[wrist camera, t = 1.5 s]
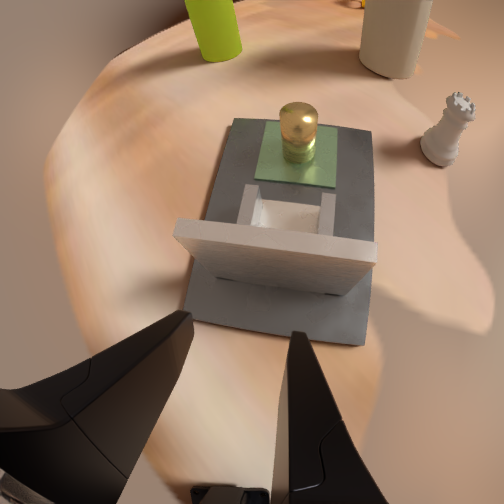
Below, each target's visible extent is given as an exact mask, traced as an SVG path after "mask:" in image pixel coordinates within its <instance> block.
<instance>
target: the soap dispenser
mask: <svg viewBox="0 0 504 504" xmlns="http://www.w3.org/2000/svg"><path fill="white" fill-rule="evenodd" d="M184 1H185V4H186V7H187V10H188V13H189V17H190V20H191V23H192V26H193V29H194V32H195V35H196V38H197V41H198V45H199V48H200V51H201V54H202V57H203V59H204V60H206V61H209V62H221V61H226V60H229V59H232V58H234V57H236V56H237V55H239V54H240V53H241V51H242V45H241V40H240V35H239V30H238V25H237V20H236V15H235V11H234V6H233V1H232V0H184Z"/></svg>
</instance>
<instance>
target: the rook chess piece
mask: <svg viewBox="0 0 504 504" xmlns="http://www.w3.org/2000/svg"><path fill="white" fill-rule="evenodd" d="M462 96H463V94H462V93H460V92H458V94H457V93H456V92H454V93H453V95H452V96H449V97H447V98H446V103H447V107H448V108H446V109H444V110H443V117H442V119H441V120H440V121H439V123H438V124H437V125H436V126H433V127H432V128H429V129H428V130H427V131H426V132H425V133H424V136H422V137H421V141H420V144H421V148H422V151H423V153H424V154H425V156H426V157H427V158H428V159H429V160H430V161H431V162H432V163H434V164H436V165H439V166H450V165H452V164H453V163H454V162H455V158H456V157H457V156H458V145H459V143H458V141H459V138H460V136H461V133H462V131H463V130H464V129H466V128H467V122H469V121H474V119H475V104H474V103H471V104H470V103H469V102H470V100H471V99H470V98H469V97H468V96H467V97H466V99H464V98H463V97H462Z"/></svg>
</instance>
